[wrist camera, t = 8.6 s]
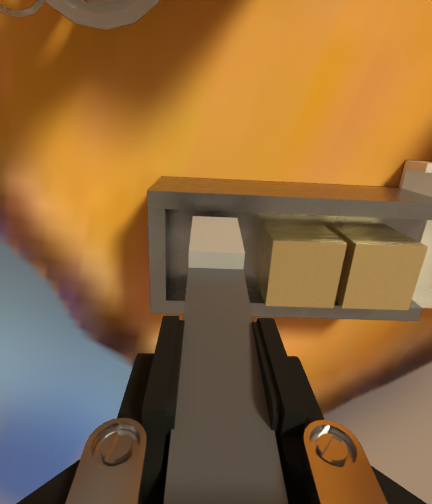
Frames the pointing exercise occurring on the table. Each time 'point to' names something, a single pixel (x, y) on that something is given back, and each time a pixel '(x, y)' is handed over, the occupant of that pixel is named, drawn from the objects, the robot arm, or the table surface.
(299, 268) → the tan cube
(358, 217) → the slot block
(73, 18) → the french press
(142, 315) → the table surface
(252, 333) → the grey rectangular bar
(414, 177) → the tray
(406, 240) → the wooden cube
